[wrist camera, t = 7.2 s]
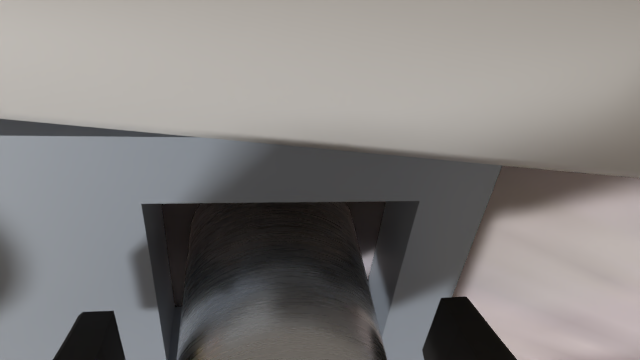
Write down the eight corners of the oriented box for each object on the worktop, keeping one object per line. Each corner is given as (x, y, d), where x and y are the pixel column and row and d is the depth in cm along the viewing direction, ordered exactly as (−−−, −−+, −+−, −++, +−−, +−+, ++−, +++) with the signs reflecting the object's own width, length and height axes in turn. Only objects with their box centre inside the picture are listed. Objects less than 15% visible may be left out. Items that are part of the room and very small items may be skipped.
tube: (1293, -34, 8) (-1651, -950, 2) (1084, 270, 10) (-941, 149, 4) (883, -25, 13) (-396, -318, 7) (791, 175, 15) (-308, 63, 9)
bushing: (349, 280, 16) (406, 552, 10) (202, 294, 15) (181, 584, 10) (356, 164, 13) (440, 450, 8) (177, 176, 13) (130, 490, 7)
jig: (403, 327, 18) (419, 382, 16) (-243, 358, 15) (-299, 428, 13) (477, 91, 12) (512, 140, 10) (-536, 68, 9) (-694, 129, 8)
